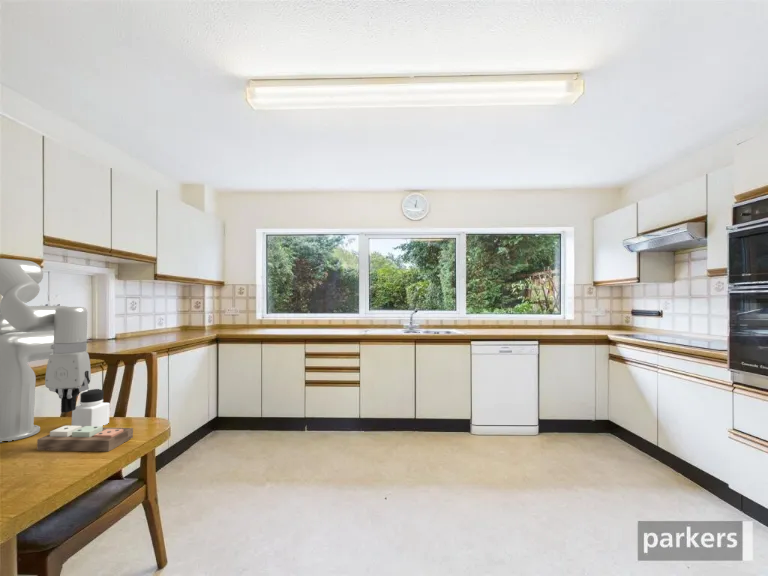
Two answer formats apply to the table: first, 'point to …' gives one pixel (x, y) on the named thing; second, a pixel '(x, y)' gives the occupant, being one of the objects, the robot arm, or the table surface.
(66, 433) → the button one cream
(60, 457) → the table surface
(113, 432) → the button three terracotta
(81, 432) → the button two sage
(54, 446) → the button board
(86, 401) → the medicine bottle
